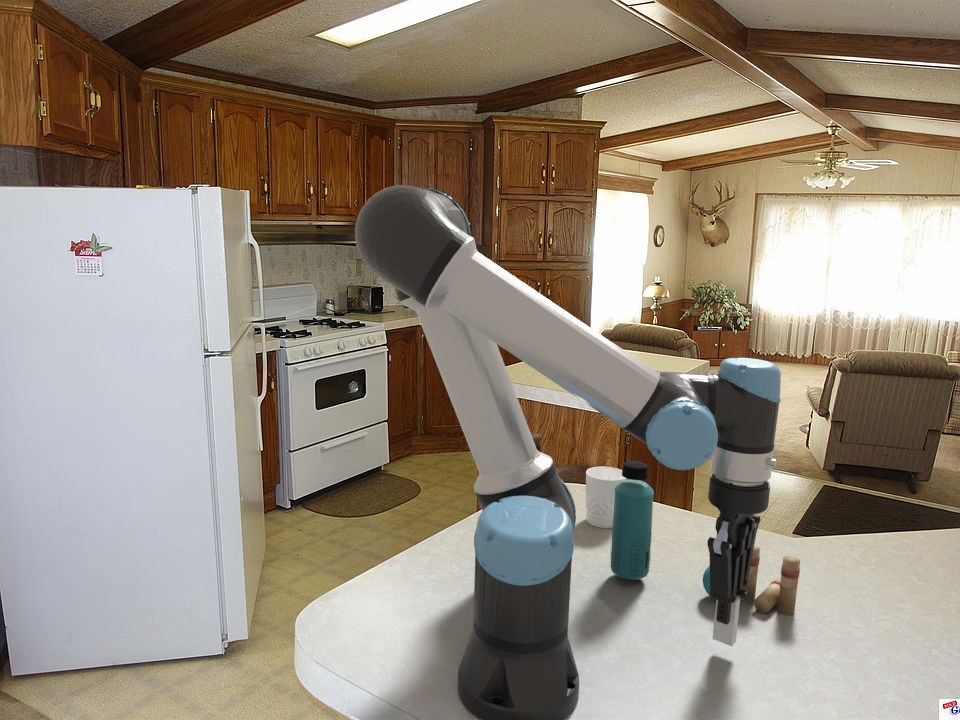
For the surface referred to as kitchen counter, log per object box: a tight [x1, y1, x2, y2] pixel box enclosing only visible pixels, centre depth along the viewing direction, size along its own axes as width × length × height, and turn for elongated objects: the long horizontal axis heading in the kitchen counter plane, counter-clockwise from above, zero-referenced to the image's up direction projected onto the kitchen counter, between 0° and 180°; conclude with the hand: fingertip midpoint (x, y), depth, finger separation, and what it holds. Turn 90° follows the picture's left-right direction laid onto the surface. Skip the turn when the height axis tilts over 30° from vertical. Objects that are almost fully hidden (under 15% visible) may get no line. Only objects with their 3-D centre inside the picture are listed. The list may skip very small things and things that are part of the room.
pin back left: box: [738, 544, 761, 602], centre depth 115 cm, size 3×3×8 cm
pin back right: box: [777, 555, 801, 616], centre depth 112 cm, size 3×2×8 cm
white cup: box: [585, 466, 628, 529], centre depth 143 cm, size 8×8×10 cm
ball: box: [702, 565, 739, 601], centre depth 115 cm, size 6×6×6 cm
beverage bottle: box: [609, 460, 655, 580], centre depth 119 cm, size 6×7×20 cm
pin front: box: [753, 577, 781, 614], centre depth 115 cm, size 3×3×8 cm
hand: (724, 640), depth 101 cm, fingers closed
